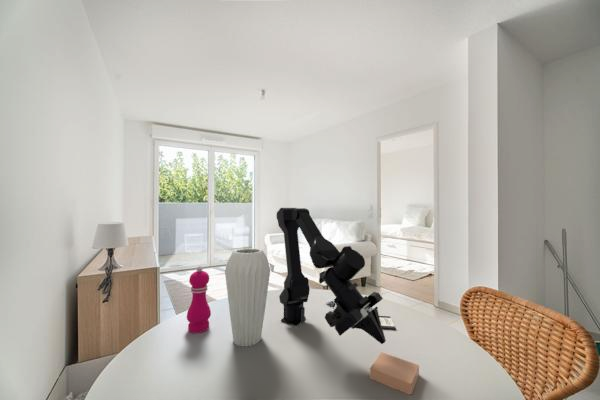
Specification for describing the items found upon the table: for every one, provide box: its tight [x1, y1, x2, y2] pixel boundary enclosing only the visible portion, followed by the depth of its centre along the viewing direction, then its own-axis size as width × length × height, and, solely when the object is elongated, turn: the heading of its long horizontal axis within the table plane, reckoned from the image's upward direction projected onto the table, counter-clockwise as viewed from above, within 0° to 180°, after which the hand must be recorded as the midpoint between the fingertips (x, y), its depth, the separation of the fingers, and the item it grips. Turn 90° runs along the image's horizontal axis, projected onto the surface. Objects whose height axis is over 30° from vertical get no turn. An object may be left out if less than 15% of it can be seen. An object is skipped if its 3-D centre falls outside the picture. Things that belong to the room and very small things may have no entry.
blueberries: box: [326, 300, 337, 308], centre depth 103 cm, size 7×8×2 cm
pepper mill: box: [186, 266, 212, 334], centre depth 83 cm, size 7×7×20 cm
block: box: [369, 351, 420, 395], centre depth 60 cm, size 3×8×9 cm
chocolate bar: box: [351, 315, 397, 331], centre depth 88 cm, size 9×1×18 cm
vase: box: [224, 248, 271, 348], centre depth 77 cm, size 13×13×26 cm
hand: (383, 342), depth 62 cm, fingers closed
